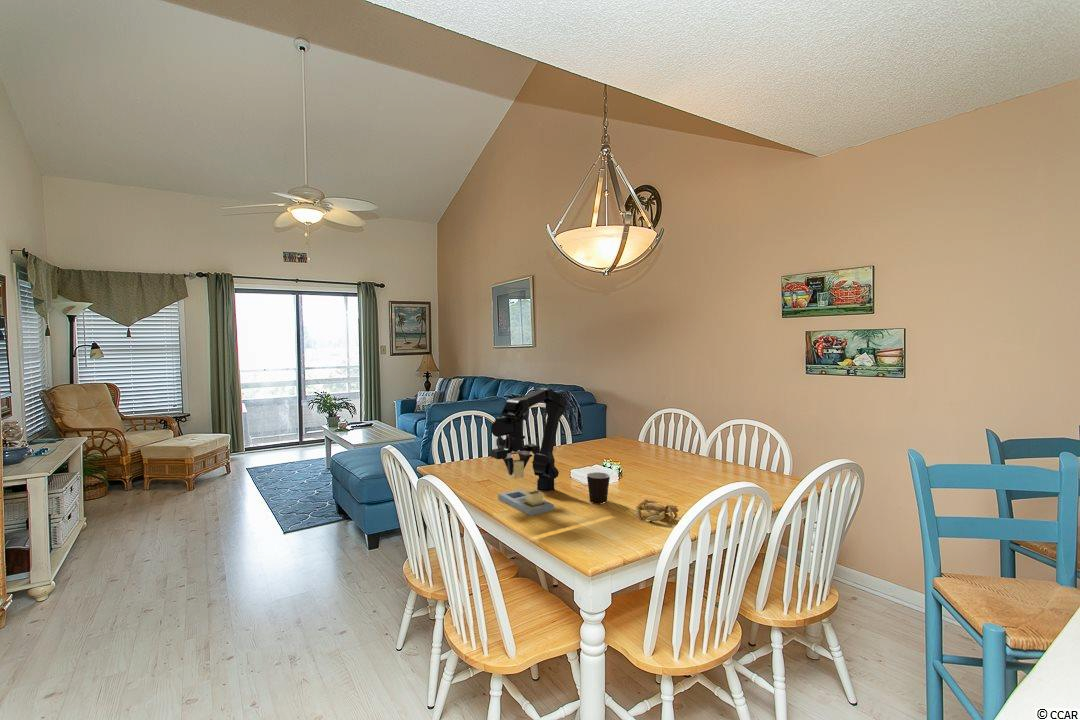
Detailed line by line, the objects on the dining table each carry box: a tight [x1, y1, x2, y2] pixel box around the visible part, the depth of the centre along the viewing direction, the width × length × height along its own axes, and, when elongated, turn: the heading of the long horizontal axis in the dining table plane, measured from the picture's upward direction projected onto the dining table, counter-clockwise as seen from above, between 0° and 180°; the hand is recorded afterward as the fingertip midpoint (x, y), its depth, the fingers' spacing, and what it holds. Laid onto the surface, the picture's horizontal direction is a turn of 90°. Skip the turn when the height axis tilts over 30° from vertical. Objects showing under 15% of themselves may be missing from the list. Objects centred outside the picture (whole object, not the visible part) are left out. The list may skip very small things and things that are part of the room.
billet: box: [507, 458, 525, 480], centre depth 190 cm, size 4×4×6 cm
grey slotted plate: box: [497, 489, 555, 517], centre depth 185 cm, size 22×10×3 cm, turn 35°
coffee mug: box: [586, 471, 611, 504], centre depth 190 cm, size 12×9×10 cm
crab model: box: [635, 499, 679, 522], centre depth 174 cm, size 16×13×6 cm
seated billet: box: [525, 489, 544, 507], centre depth 180 cm, size 4×4×6 cm
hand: (515, 473), depth 190 cm, fingers closed on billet, 4 cm apart
